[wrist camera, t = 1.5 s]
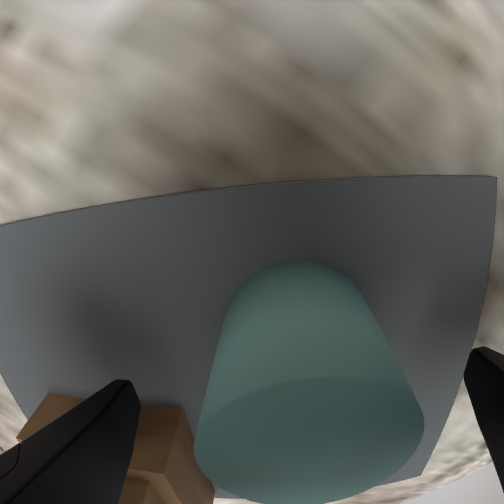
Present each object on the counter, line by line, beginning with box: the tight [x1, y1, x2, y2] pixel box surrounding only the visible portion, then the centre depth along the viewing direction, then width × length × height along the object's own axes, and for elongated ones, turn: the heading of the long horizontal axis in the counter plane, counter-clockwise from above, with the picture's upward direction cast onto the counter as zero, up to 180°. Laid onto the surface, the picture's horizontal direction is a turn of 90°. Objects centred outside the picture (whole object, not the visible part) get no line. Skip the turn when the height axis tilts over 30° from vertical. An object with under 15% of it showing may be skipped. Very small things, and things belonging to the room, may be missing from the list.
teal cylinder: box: [193, 260, 425, 504], centre depth 8 cm, size 5×5×5 cm
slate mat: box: [0, 175, 497, 499], centre depth 12 cm, size 22×16×1 cm
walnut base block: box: [16, 392, 215, 504], centre depth 11 cm, size 7×7×3 cm
